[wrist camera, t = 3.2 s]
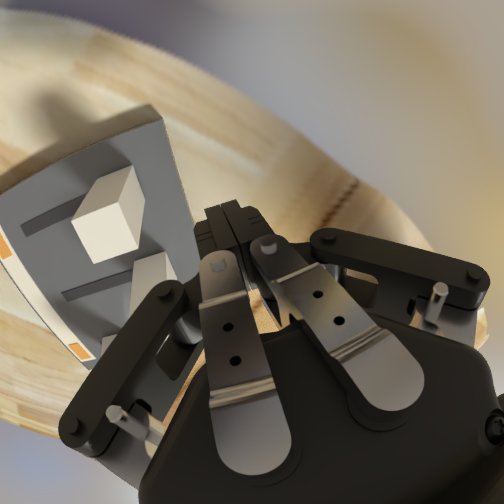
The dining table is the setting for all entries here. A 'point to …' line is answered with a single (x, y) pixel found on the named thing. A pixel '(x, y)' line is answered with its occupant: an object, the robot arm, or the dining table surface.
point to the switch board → (73, 251)
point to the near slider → (111, 215)
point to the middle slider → (149, 277)
